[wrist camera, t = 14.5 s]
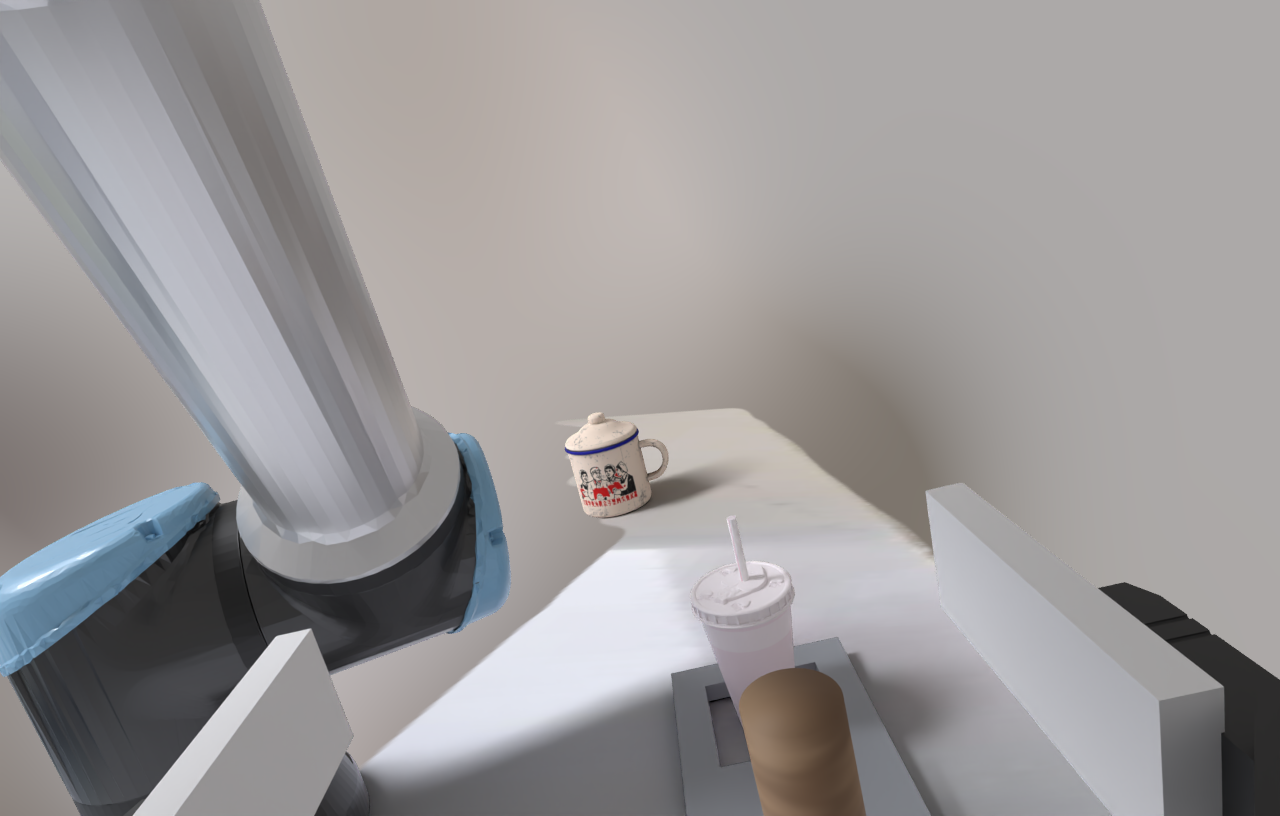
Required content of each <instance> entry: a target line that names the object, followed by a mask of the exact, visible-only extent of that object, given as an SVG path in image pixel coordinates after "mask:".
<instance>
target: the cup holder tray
mask: <svg viewBox="0 0 1280 816" xmlns="http://www.w3.org/2000/svg"><path fill="white" fill-rule="evenodd" d="M794 662H795V668H788V669H781V670H777V671H773V672H770V673H768V674H765V675H763V676H761V677H759V678H758V679H756V680H755V681H753V682H752V683H751V684H750V685H749V686H748V687H747V688H746V689H745V690H744V692H743V693H742V695H741V698H740V701H739V712H740V716H741V721H742V725H743V729H744V733H745V738H746V742H747V746H748V751H749V755H750V759H751V761H747V762H742V763H738V764H733V765H728V766H724V767H720V761H719V756H718V750H717V745H716V739H715V734H714V728H713V723H712V717H711V712H710V706H709V701H712V700H716V699H721V698H725V697H730V694H729V691H728V689H727V686H726V683H725V681H724V678H723V676H722V673H721V671H720V668H719V665H718V664H713V665H709V666H704V667H700V668H695V669H691V670H686V671H681V672H677V673H672V674H671V676H672V686H673V695H674V704H675V713H676V723H677V732H678V741H679V750H680V760H681V769H682V778H683V787H684V797H685V806H686V815H687V816H931V814H930V812H929V810H928V809H927V807H926V805H925V803H924V801H923V799H922V797H921V795H920V793H919V791H918V789H917V788H916V786H915V784H914V782H913V780H912V778H911V776H910V774H909V772H908V770H907V768H906V767H905V765H904V763H903V761H902V759H901V757H900V755H899V753H898V751H897V749H896V747H895V745H894V744H893V742H892V740H891V738H890V736H889V734H888V732H887V730H886V728H885V726H884V724H883V723H882V721H881V719H880V717H879V715H878V713H877V711H876V709H875V707H874V705H873V703H872V701H871V700H870V698H869V696H868V694H867V692H866V690H865V688H864V686H863V684H862V682H861V680H860V679H859V677H858V675H857V673H856V671H855V669H854V667H853V665H852V663H851V661H850V659H849V658H848V656H847V654H846V652H845V650H844V648H843V646H842V644H841V642H840V640H839V638H838V637H835V638H831V639H826V640H822V641H817V642H812V643H808V644H803V645H799V646H794Z"/></svg>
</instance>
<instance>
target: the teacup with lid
mask: <svg viewBox="0 0 1280 816" xmlns="http://www.w3.org/2000/svg"><path fill="white" fill-rule="evenodd" d="M588 422H589V423H588V424H586V425H584V426H583V427H582V428H581V429H580V430H579V432H577V433H575V434H573V435H572V436H571V437H569V438H568V440H567V441H566V444H565V451H566V452H567V453H568V454H569V458H570V461H571V465H572V469H573V473H574V476H575V480H576V484H577V487H578V491H579V495H580V498H581V502H582V506H583V509H584V511H585V513H586V514H588V515H590V516H593V517H598V518H605V517H613V516H618V515H622V514H626V513H628V512H631V511H633V510H636V509H638V508H639V507H641V506H643V505H644V504H645V503H646V502H647V501H648V500H649V499H650V497H651V494H652V493H651V488H650V484H649V480H653V479H656V478H658V477H660V476H661V475H662V474H663V473H664V472H665V470H666V468H667V465H668V451H667V448H666V447H665V445H664V444H663V443H661V442H660V441H658V440H655V439H646V440H641V441H639V439H638V433H639V431H638V429H637V427H636V426H635V425H634V424H633V423H631V422H626V421H616V420H613V419H605V417H604V414H603V413H601V412H597V413H593V414H591V415H589V416H588ZM647 446H653V447H656V448H658V449H659V450H660V451H661V453H662V457H663V462H662V465H661V467H660V468H659V469H658V470H657V471H655V472H652V473H648V474H647V472H646V468H645V464H644V459H643V455H642V451H641V448H642V447H647Z"/></svg>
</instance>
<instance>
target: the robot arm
mask: <svg viewBox="0 0 1280 816" xmlns="http://www.w3.org/2000/svg"><path fill="white" fill-rule="evenodd" d="M0 161H1V162H2V163H3V165H4V166H5V167H6V169H7V170H8V171H9V173H10V174H11V175H12V176H13V178H14V179H15V181H16V182H17V183H18V185H19V186H20V187H21V188H22V190H23V191H24V193H25V194H26V196H27V197H28V198H29V200H30V201H31V202H32V204H33V205H34V206H35V208H36V209H37V210H38V212H39V213H40V214H41V216H42V217H43V218H44V220H45V221H46V222H47V224H48V225H49V226H50V228H51V229H52V230H53V232H54V233H55V234H56V236H57V237H58V238H59V240H60V241H61V243H62V244H63V245H64V247H65V248H66V249H67V251H68V252H69V253H70V255H71V256H72V257H73V259H74V260H75V261H76V263H77V264H78V265H79V267H80V268H81V270H82V271H83V272H84V273H85V275H86V276H87V277H88V279H89V280H90V282H91V283H92V284H93V286H94V287H95V288H96V290H97V291H98V292H99V294H100V295H101V296H102V298H103V299H104V300H105V302H106V303H107V305H108V306H109V307H110V309H111V310H112V311H113V312H114V314H115V315H116V317H117V318H118V319H119V321H120V322H121V323H122V325H123V326H124V327H125V329H126V330H127V331H128V333H129V334H130V335H131V337H132V338H133V339H134V341H135V342H136V343H137V345H138V346H139V348H140V349H141V350H142V352H143V353H144V354H145V356H146V357H147V358H148V360H149V361H150V362H151V364H152V365H153V366H154V368H155V369H156V370H157V372H158V373H159V374H160V376H161V377H162V379H163V380H164V381H165V383H166V384H167V385H168V387H169V388H170V389H171V391H172V392H173V393H174V395H175V396H176V397H177V399H178V400H179V401H180V403H181V404H182V405H183V407H184V408H185V409H186V411H187V412H188V414H189V415H190V416H191V417H192V419H193V420H194V422H195V423H196V424H197V426H198V427H199V428H200V430H201V431H202V432H203V433H204V435H205V436H206V438H207V439H208V440H209V442H210V443H211V444H212V446H213V447H214V448H215V450H216V451H217V453H218V454H219V455H220V457H221V458H222V459H223V460H224V462H225V463H226V465H227V466H228V467H229V469H230V470H231V471H232V473H233V474H234V475H235V477H236V478H237V479H238V481H239V482H240V483H241V488H240V492H239V495H238V500H236V501H232V502H229V503H225V504H221V503H219V500H220V497H219V494H218V493H217V492H215V491H213V490H212V489H211V487H210V486H209V485H208V484H206V483H202V482H201V483H192V484H190V485H188V486H181V487H176V488H173V489H170V490H167V491H164V492H162V493H159V494H156V495H154V496H151V497H149V498H146V499H144V500H142V501H139V502H137V503H134V504H132V505H130V506H127V507H125V508H123V509H121V510H118V511H116V512H114V513H112V514H110V515H108V516H105V517H103V518H101V519H99V520H97V521H95V522H93V523H91V524H89V525H87V526H85V527H83V528H81V529H79V530H77V531H75V532H73V533H71V534H69V535H67V536H65V537H63V538H61V539H60V540H58V541H56V542H54V543H52V544H50V545H49V546H47V547H45V548H43V549H42V550H40V551H38V552H36V553H35V554H33V555H31V556H30V557H28V558H26V559H25V560H23V561H22V562H20V563H19V564H17V565H16V566H14V567H13V568H12V569H10V570H9V571H7V572H6V573H5V574H4V575H2V576H1V577H0V665H1V666H0V672H1V674H2V676H4V677H5V676H7V677H8V679H9V681H10V683H11V685H12V687H13V688H14V690H15V692H16V694H17V696H18V698H19V700H20V702H21V703H22V705H23V707H24V709H25V711H26V713H27V715H28V717H29V719H30V720H31V722H32V724H33V726H34V728H35V730H36V732H37V733H38V735H39V737H40V739H41V741H42V743H43V745H44V746H45V748H46V750H47V752H48V754H49V756H50V758H51V760H52V762H53V764H54V765H55V767H56V769H57V771H58V773H59V775H60V776H61V778H62V781H63V782H64V784H65V786H66V788H67V790H68V792H69V794H70V795H71V797H72V799H73V801H74V803H75V805H76V807H77V809H78V811H79V813H80V815H81V816H368V814H369V795H368V791H367V788H366V786H365V783H364V781H363V778H362V776H361V773H360V771H359V768H358V766H357V764H356V762H355V761H354V759H353V758H352V756H351V755H350V754H349V753H347V752H346V750H347V748H348V747H349V745H350V742H351V741H352V739H353V737H354V735H353V732H352V730H351V728H350V725H349V722H348V721H347V717H346V715H345V712H344V710H343V707H342V705H341V702H340V700H339V698H338V695H337V692H336V690H335V687H334V685H333V682H332V680H331V677H330V675H332V674H335V673H338V672H340V671H343V670H346V669H348V668H351V667H354V666H357V665H359V664H362V663H365V662H367V661H370V660H373V659H376V658H378V657H381V656H384V655H387V654H389V653H392V652H395V651H397V650H400V649H403V648H406V647H408V646H411V645H414V644H417V643H419V642H422V641H425V640H428V639H430V638H433V637H436V636H438V635H441V634H444V633H448V634H452V633H456V632H460V631H461V630H463V629H464V627H466V626H467V625H468V624H470V623H472V622H475V621H477V620H479V619H482V618H484V617H486V616H489V615H491V614H493V613H495V612H496V611H498V610H499V609H500V608H501V607H502V606H503V605H504V603H505V602H506V600H507V598H508V595H509V592H510V585H511V571H510V561H509V553H508V547H507V541H506V538H505V535H504V533H503V531H502V530H503V524H502V516H501V510H500V506H499V502H498V498H497V494H496V490H495V486H494V483H493V479H492V476H491V473H490V470H489V467H488V464H487V461H486V458H485V456H484V453H483V451H482V449H481V447H480V445H479V443H478V441H477V440H476V439H475V438H474V437H473V436H471V435H469V434H465V433H460V434H453V433H448V432H447V431H446V430H445V428H444V427H443V425H442V424H440V423H439V422H438V421H437V420H436V419H435V418H434V417H432V416H430V415H429V414H427V413H425V412H424V411H421V410H419V409H417V408H415V407H412V406H411V405H410V403H409V400H408V397H407V394H406V392H405V389H404V387H403V384H402V381H401V379H400V376H399V373H398V370H397V368H396V365H395V362H394V360H393V357H392V355H391V352H390V349H389V346H388V344H387V341H386V338H385V336H384V333H383V330H382V328H381V325H380V322H379V320H378V317H377V314H376V311H375V309H374V306H373V303H372V301H371V298H370V295H369V293H368V290H367V287H366V285H365V282H364V279H363V277H362V274H361V271H360V269H359V266H358V263H357V261H356V258H355V255H354V253H353V250H352V247H351V245H350V242H349V239H348V236H347V234H346V231H345V228H344V226H343V223H342V220H341V218H340V215H339V212H338V210H337V207H336V204H335V202H334V199H333V196H332V194H331V191H330V188H329V186H328V183H327V180H326V178H325V175H324V172H323V169H322V167H321V164H320V161H319V159H318V156H317V153H316V151H315V148H314V145H313V143H312V140H311V137H310V135H309V132H308V129H307V127H306V124H305V121H304V119H303V116H302V113H301V110H300V108H299V105H298V103H297V100H296V97H295V94H294V92H293V89H292V86H291V84H290V81H289V78H288V76H287V73H286V70H285V68H284V65H283V62H282V60H281V57H280V55H279V52H278V49H277V46H276V44H275V41H274V38H273V36H272V33H271V30H270V27H269V25H268V22H267V19H266V17H265V14H264V11H263V9H262V6H261V3H260V1H259V0H0ZM926 499H927V505H928V514H929V522H930V528H931V537H932V544H933V552H934V559H935V567H936V574H937V582H938V590H939V597H940V605H941V608H942V609H943V610H944V612H945V613H946V614H947V615H948V616H949V618H950V619H951V620H952V621H953V622H954V624H955V625H956V626H957V627H958V629H959V630H960V631H961V632H962V633H963V635H964V636H965V637H966V638H967V639H968V641H969V642H970V643H971V644H972V646H973V647H974V648H975V649H976V650H977V652H978V653H979V654H980V655H981V656H982V658H983V659H984V660H985V661H986V663H987V664H988V665H989V666H990V667H991V669H992V670H993V671H994V672H995V673H996V675H997V676H998V677H999V678H1000V680H1001V681H1002V682H1003V683H1004V684H1005V686H1006V687H1007V688H1008V689H1009V690H1010V692H1011V693H1012V694H1013V695H1014V697H1015V698H1016V699H1017V700H1018V701H1019V703H1020V704H1021V705H1022V706H1023V707H1024V709H1025V710H1026V711H1027V712H1028V714H1029V715H1030V716H1031V717H1032V718H1033V720H1034V721H1035V722H1036V723H1037V725H1038V726H1039V727H1040V728H1041V729H1042V731H1043V732H1044V733H1045V734H1046V735H1047V737H1048V738H1049V739H1050V740H1051V742H1052V743H1053V744H1054V745H1055V746H1056V748H1057V749H1058V750H1059V751H1060V752H1061V754H1062V755H1063V756H1064V757H1065V759H1066V760H1067V761H1068V762H1069V763H1070V765H1071V766H1072V767H1073V768H1074V769H1075V771H1076V772H1077V773H1078V774H1079V776H1080V777H1081V778H1082V779H1083V780H1084V782H1085V783H1086V784H1087V785H1088V786H1089V788H1090V789H1091V790H1092V791H1093V793H1094V794H1095V795H1096V796H1097V797H1098V799H1099V800H1100V801H1101V802H1102V803H1103V805H1104V806H1105V807H1106V808H1107V810H1108V811H1109V812H1110V813H1111V814H1112V816H1280V680H1279V679H1278V678H1276V677H1275V676H1273V675H1272V674H1271V673H1269V672H1268V671H1266V670H1265V669H1263V668H1262V667H1261V666H1259V665H1258V664H1256V663H1255V662H1254V661H1252V660H1251V659H1249V658H1248V657H1246V656H1245V655H1244V654H1242V653H1241V652H1239V651H1238V650H1237V649H1235V648H1234V647H1232V646H1231V645H1229V644H1228V643H1227V642H1225V641H1224V640H1222V639H1221V638H1219V637H1218V636H1217V635H1211V634H1210V631H1209V630H1208V629H1207V628H1205V627H1204V626H1202V625H1201V624H1200V623H1198V622H1197V621H1195V620H1194V619H1193V618H1192V619H1189V618H1188V617H1187V614H1185V613H1184V612H1183V611H1181V610H1180V609H1178V608H1177V607H1176V606H1174V605H1173V604H1171V603H1170V602H1168V601H1167V600H1166V599H1164V598H1163V597H1161V596H1159V595H1157V594H1154V593H1152V592H1149V591H1146V590H1144V589H1141V588H1138V587H1136V586H1133V585H1131V584H1128V583H1125V582H1124V583H1119V584H1115V585H1111V586H1106V587H1101V588H1097V587H1096V586H1094V585H1093V584H1091V583H1090V582H1089V581H1088V580H1087V579H1085V578H1084V577H1083V576H1081V575H1080V574H1079V573H1078V572H1076V571H1075V570H1074V569H1072V568H1071V567H1070V566H1069V565H1067V564H1066V563H1065V562H1063V561H1062V560H1061V559H1060V558H1058V557H1057V556H1056V555H1055V554H1053V553H1052V552H1051V551H1049V550H1048V549H1047V548H1046V547H1044V546H1043V545H1042V544H1040V543H1039V542H1038V541H1037V540H1035V539H1034V538H1033V537H1031V536H1030V535H1029V534H1028V533H1026V532H1025V531H1024V530H1022V529H1021V528H1020V527H1018V526H1017V525H1016V524H1015V523H1014V522H1012V521H1011V520H1010V519H1008V518H1007V517H1006V516H1005V515H1003V514H1002V513H1000V512H999V511H998V510H997V509H996V508H994V507H993V506H992V505H990V504H989V503H988V502H986V501H985V500H984V499H983V498H982V497H980V496H979V495H978V494H976V493H975V492H974V491H973V490H971V489H970V488H968V487H967V486H966V485H965V484H964V483H957V484H953V485H948V486H944V487H939V488H935V489H931V490H926Z"/></svg>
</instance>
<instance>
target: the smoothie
mask: <svg viewBox="0 0 1280 816" xmlns="http://www.w3.org/2000/svg"><path fill="white" fill-rule="evenodd" d="M727 522H728V527H729V531H730V536H731V540H732V545H733V549H734V554H735V558H736V563H732V564H728V565H725V566H722V567H719V568H716V569H714V570H712V571H710V572H708V573H707V574H705V575H704V576H702V577H701V578H700V579H699V580H698V581H697V582H696V583H695V584H694V586H693V587H692V589H691V592H690V599H691V603H692V611H693V614H694V616H695V617H696V618H697V619H698V620H699V621H700V622H701V623H702V624H703V627H704V629H705V632H706V635H707V638H708V640H709V642H710V645H711V647H712V650H713V652H714V655H715V658H716V660H717V663H718V665H719V668H720V671H721V673H722V676H723V678H724V681H725V683H726V686H727V689H728V691H729V694H730V696H731V699H732V702H733V704H734V707H735V709H736V712H737V714H738V717H739V720H740V722H741V725H742V721H741V716H740V712H739V701H740V698H741V695H742V693H743V692H744V690H745V689H746V688H747V687H748V686H749V685H750V684H751V683H752V682H753V681H755V680H756V679H758V678H759V677H761V676H763V675H765V674H768V673H770V672H773V671H777V670H781V669H788V668H795V662H794V647H793V632H792V616H791V604H792V602H793V599H794V597H795V592H794V587H793V586H792V580H791V576H790V574H789V573H788V572H787V571H786V570H785V569H784V568H782V567H780V566H778V565H776V564H773V563H769V562H763V561H745V557H744V552H743V548H742V543H741V538H740V534H739V529H738V525H737V520H736V516H729V517H727ZM742 727H743V725H742Z"/></svg>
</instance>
